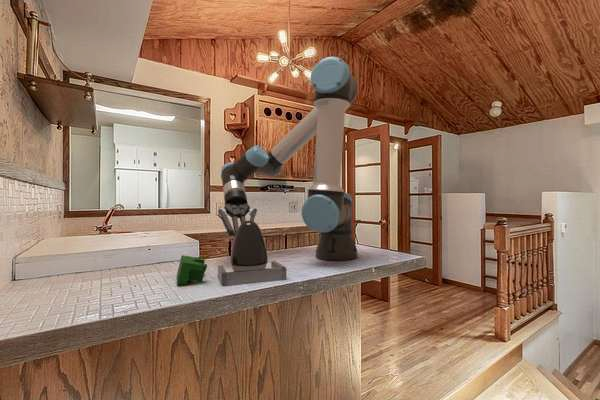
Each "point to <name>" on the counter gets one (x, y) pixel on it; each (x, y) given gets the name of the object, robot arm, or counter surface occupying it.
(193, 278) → the green stepped block
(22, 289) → the counter surface
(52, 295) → the counter surface
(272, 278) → the bracket
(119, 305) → the counter surface
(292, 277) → the counter surface
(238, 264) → the dark rounded piece
